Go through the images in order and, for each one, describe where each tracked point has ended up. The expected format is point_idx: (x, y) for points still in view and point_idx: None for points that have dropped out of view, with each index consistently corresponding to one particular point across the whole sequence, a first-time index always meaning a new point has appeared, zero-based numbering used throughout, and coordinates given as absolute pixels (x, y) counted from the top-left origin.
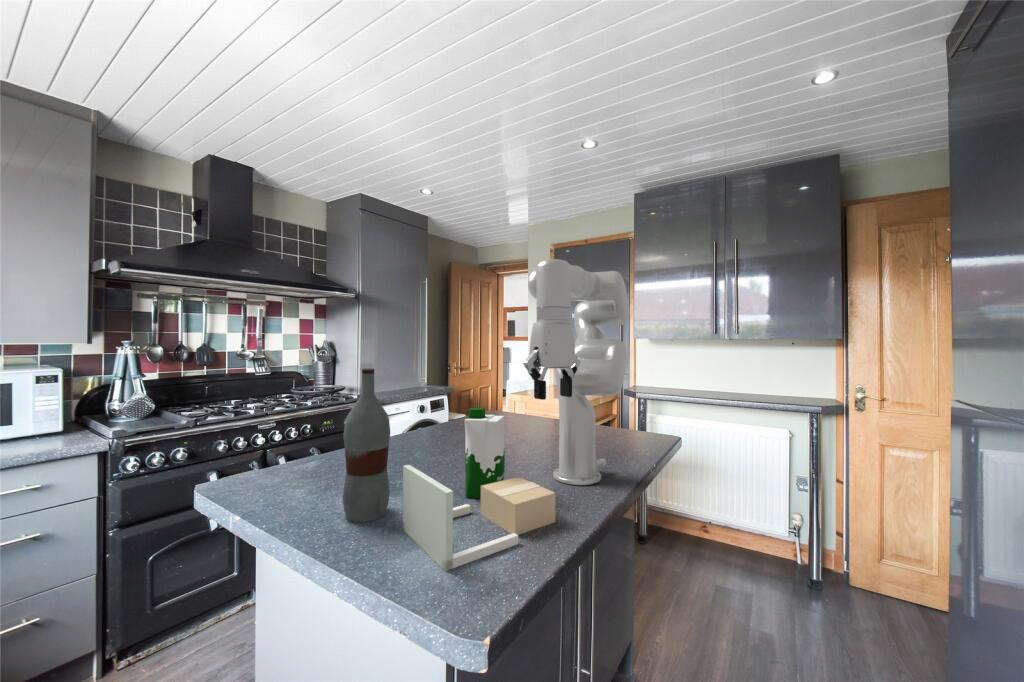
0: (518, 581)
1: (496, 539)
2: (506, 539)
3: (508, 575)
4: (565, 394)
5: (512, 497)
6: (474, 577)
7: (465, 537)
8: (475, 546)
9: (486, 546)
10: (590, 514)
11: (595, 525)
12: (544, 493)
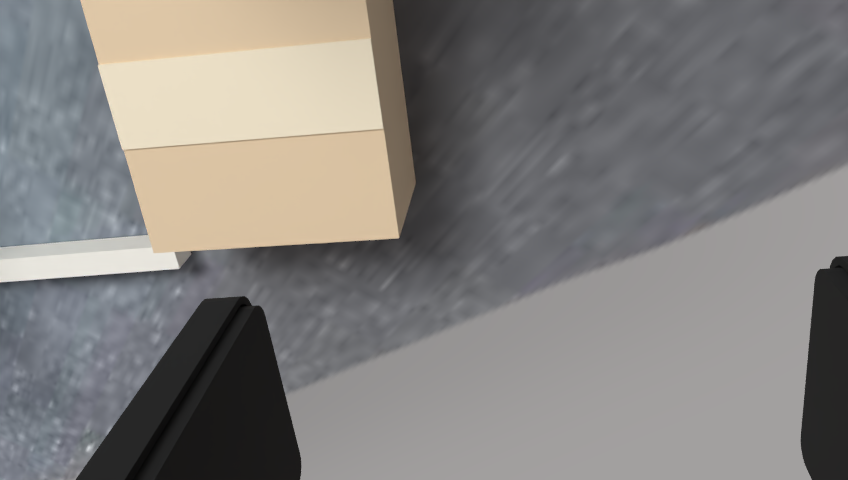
0: (115, 406)
1: (95, 253)
2: (128, 271)
3: (99, 374)
4: (816, 395)
5: (173, 180)
6: (6, 337)
7: (20, 113)
8: (12, 259)
9: (48, 278)
10: (607, 203)
11: (543, 287)
12: (344, 218)
